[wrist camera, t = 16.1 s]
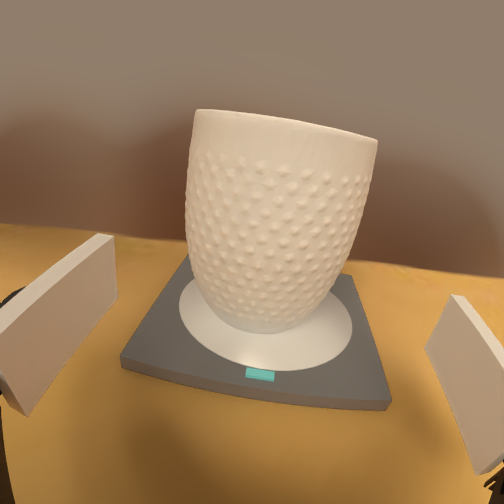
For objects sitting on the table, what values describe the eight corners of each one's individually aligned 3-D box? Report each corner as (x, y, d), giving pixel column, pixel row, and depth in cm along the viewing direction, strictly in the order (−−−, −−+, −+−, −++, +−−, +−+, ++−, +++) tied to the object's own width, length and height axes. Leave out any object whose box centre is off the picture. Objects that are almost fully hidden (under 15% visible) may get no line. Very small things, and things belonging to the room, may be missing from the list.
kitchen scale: (121, 367, 16) (119, 353, 16) (192, 256, 31) (192, 245, 30) (385, 410, 15) (393, 398, 15) (348, 284, 30) (351, 273, 30)
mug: (270, 249, 32) (292, 123, 27) (366, 293, 26) (406, 150, 21) (148, 298, 21) (156, 106, 16) (271, 388, 15) (334, 125, 10)
